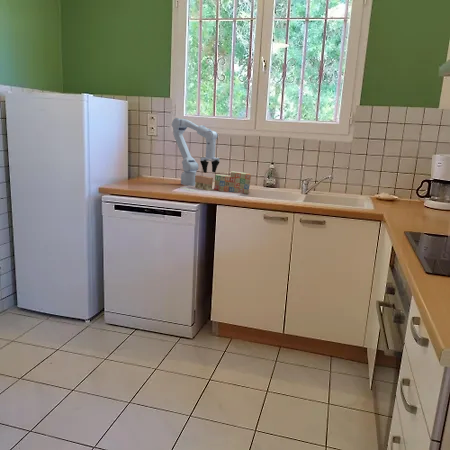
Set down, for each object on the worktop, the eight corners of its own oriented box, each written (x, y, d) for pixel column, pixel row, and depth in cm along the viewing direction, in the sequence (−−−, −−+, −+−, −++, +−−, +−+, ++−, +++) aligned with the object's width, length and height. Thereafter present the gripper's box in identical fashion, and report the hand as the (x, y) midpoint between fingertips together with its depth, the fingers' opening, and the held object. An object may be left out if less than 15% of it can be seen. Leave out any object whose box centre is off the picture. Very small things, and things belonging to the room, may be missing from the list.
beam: (195, 181, 269) (195, 175, 268) (199, 181, 271) (199, 175, 270) (208, 184, 261) (208, 177, 260) (212, 184, 263) (212, 177, 262)
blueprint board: (175, 188, 261) (175, 187, 261) (204, 187, 278) (204, 186, 278) (192, 192, 250) (192, 191, 250) (221, 191, 267) (221, 190, 267)
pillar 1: (195, 187, 269) (195, 181, 268) (199, 187, 272) (200, 181, 271) (199, 188, 266) (199, 182, 265) (204, 188, 269) (204, 182, 268)
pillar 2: (202, 189, 264) (203, 183, 263) (207, 188, 267) (207, 183, 266) (207, 190, 261) (207, 184, 261) (211, 189, 264) (212, 184, 264)
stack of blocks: (213, 190, 263) (215, 169, 261) (214, 188, 269) (216, 169, 267) (248, 194, 262) (251, 174, 259) (248, 193, 268) (251, 173, 265)
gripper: (206, 150, 260) (205, 173, 262) (223, 151, 270) (222, 172, 273) (198, 149, 265) (197, 172, 267) (215, 150, 275) (214, 171, 278)
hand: (209, 172), depth 270 cm, fingers open, 7 cm apart
